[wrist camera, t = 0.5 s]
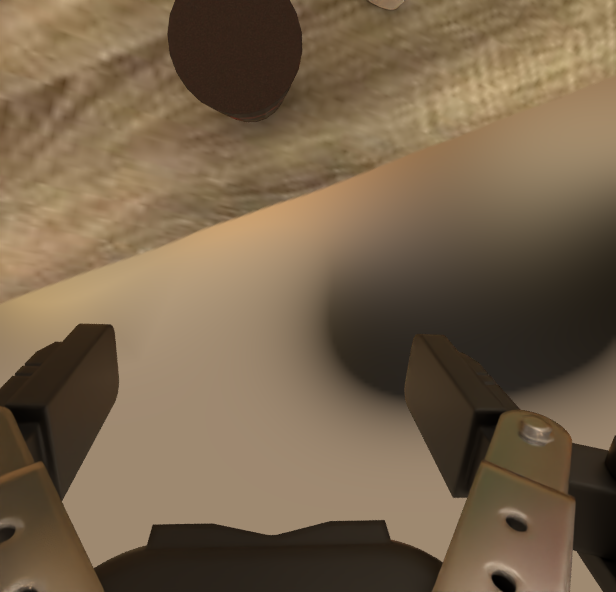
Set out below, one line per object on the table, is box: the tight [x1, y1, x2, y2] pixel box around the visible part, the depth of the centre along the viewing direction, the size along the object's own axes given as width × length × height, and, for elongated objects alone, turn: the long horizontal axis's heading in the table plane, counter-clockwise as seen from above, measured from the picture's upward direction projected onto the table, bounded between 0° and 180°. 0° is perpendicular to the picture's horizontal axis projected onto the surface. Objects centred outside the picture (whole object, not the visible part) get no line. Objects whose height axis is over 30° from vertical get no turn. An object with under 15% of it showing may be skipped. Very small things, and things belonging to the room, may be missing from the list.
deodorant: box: [168, 0, 302, 122], centre depth 27 cm, size 6×6×15 cm
